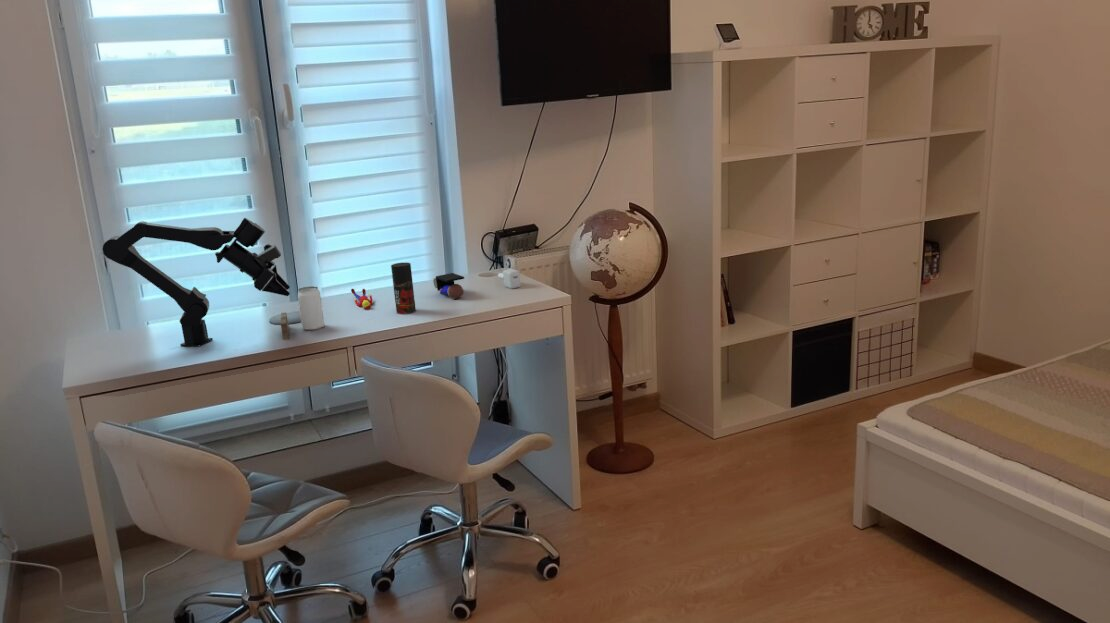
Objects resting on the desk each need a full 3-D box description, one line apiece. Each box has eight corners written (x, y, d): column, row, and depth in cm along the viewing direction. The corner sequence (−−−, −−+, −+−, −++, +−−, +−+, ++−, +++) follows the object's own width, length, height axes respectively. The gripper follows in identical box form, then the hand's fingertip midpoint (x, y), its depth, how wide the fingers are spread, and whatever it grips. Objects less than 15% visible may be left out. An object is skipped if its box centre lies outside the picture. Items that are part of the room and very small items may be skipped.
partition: (288, 338, 244) (286, 323, 242) (283, 339, 243) (280, 324, 242) (288, 326, 257) (286, 312, 256) (283, 327, 256) (281, 312, 255)
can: (318, 330, 250) (313, 291, 247) (298, 330, 252) (292, 291, 248) (328, 324, 256) (323, 285, 253) (308, 324, 258) (303, 286, 255)
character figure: (364, 282, 288) (371, 294, 270) (370, 294, 290) (377, 306, 271) (349, 289, 287) (355, 302, 269) (354, 301, 289) (361, 314, 270)
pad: (298, 324, 258) (298, 322, 258) (261, 324, 261) (260, 322, 261) (320, 313, 270) (320, 311, 270) (284, 313, 273) (283, 311, 273)
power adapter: (494, 284, 294) (493, 267, 292) (506, 281, 296) (505, 265, 295) (510, 289, 284) (508, 272, 283) (522, 287, 287) (521, 270, 285)
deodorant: (393, 313, 263) (387, 266, 259) (402, 308, 269) (396, 262, 265) (410, 314, 262) (405, 266, 258) (418, 309, 267) (413, 262, 263)
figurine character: (433, 297, 287) (449, 301, 274) (430, 275, 286) (445, 277, 272) (452, 294, 290) (468, 297, 277) (449, 272, 289) (465, 274, 275)
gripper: (259, 242, 235) (306, 276, 241) (261, 232, 252) (305, 264, 258) (234, 273, 235) (282, 306, 241) (238, 262, 252) (282, 293, 258)
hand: (288, 291), depth 249 cm, fingers open, 9 cm apart
